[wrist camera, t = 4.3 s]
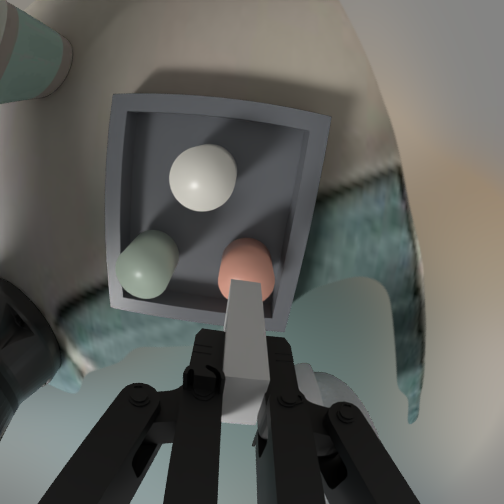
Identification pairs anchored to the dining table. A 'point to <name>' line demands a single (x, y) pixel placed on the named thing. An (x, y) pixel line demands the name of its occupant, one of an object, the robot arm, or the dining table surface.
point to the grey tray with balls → (224, 217)
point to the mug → (327, 391)
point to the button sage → (147, 264)
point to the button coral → (246, 266)
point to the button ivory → (203, 177)
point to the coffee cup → (30, 56)
